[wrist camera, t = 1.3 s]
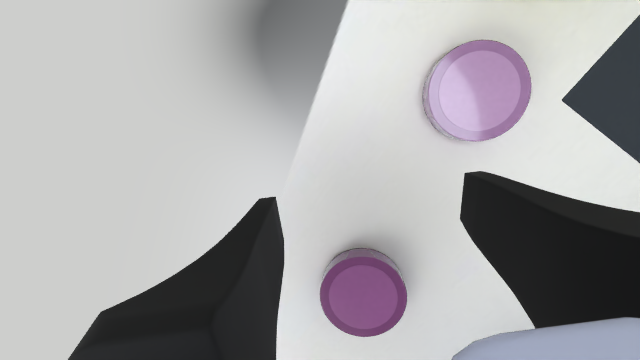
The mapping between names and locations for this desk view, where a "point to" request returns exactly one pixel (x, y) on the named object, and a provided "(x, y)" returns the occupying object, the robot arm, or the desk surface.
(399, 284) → the plum dish
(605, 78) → the placemat
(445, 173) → the desk surface
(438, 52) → the desk surface
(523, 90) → the light purple flat disc
